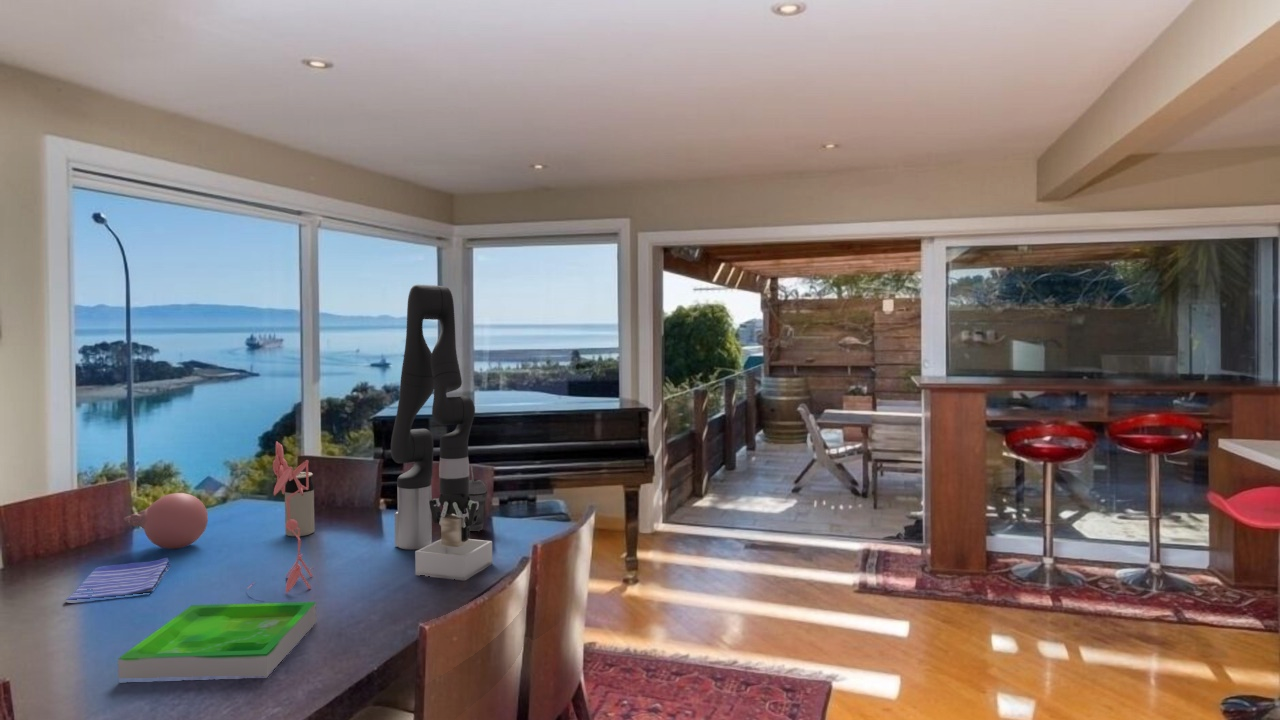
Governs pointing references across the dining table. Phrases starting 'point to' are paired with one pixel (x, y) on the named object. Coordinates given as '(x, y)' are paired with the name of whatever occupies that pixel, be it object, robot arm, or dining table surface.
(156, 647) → the tray
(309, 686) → the dining table surface
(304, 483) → the travel mug
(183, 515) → the pink water balloon
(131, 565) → the dish towel
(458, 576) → the grey bin
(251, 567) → the dining table surface
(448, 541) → the ash block
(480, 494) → the beverage cup
